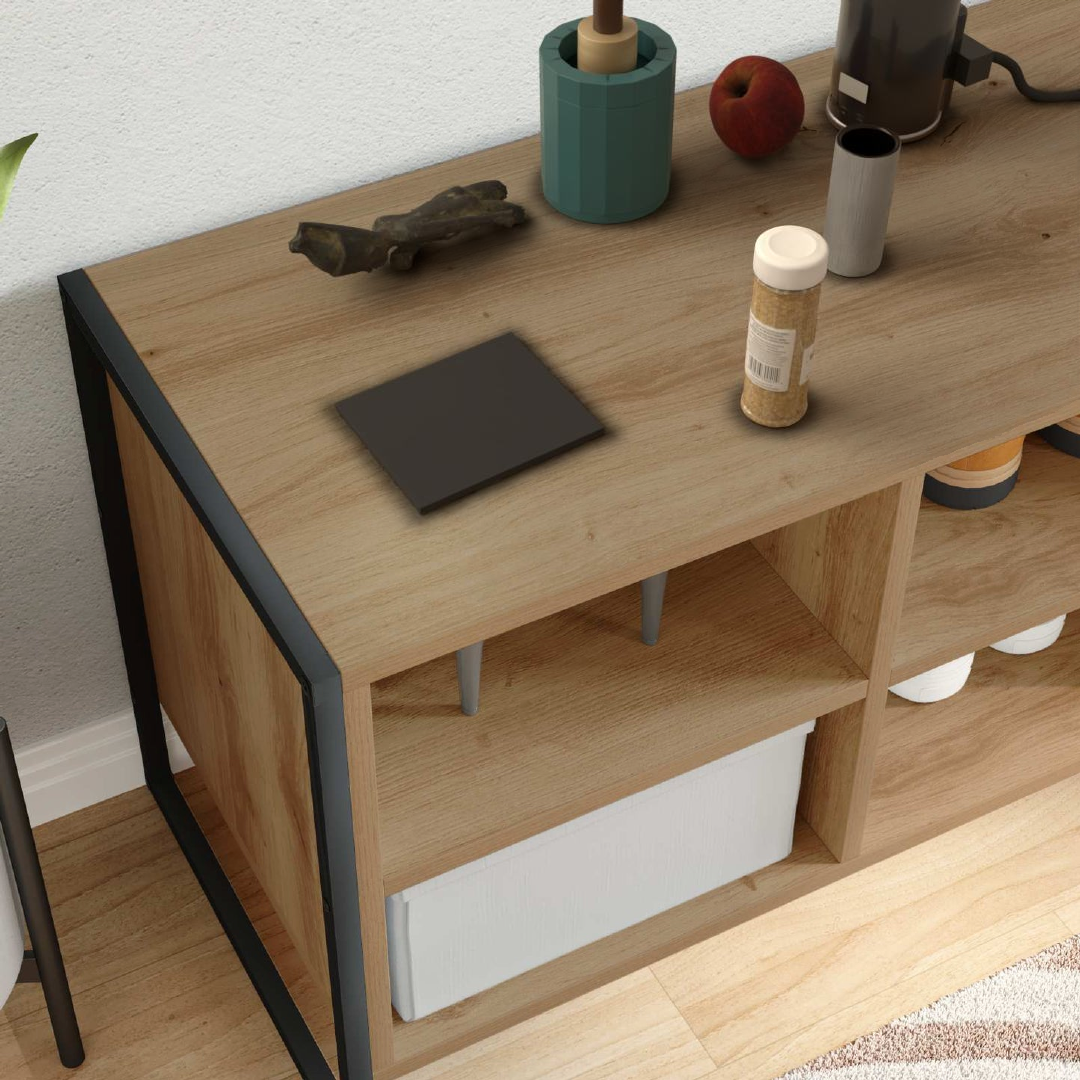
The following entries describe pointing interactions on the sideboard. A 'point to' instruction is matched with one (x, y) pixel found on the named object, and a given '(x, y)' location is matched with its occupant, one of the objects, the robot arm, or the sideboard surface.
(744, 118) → the apple
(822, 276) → the spice bottle
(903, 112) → the robot arm
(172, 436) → the sideboard surface
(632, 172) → the jar
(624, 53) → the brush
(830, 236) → the grey hollow cylinder
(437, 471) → the mat
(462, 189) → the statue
